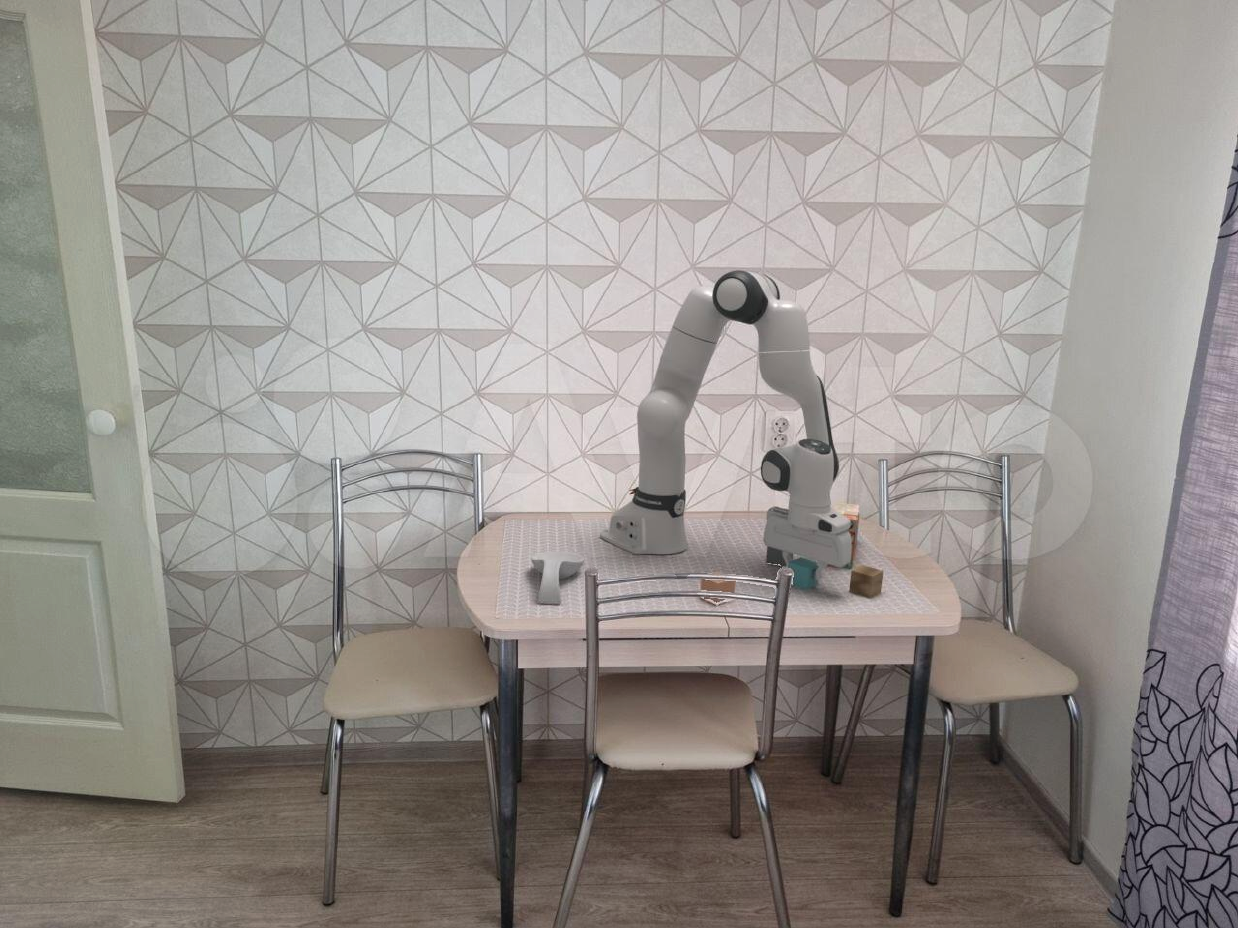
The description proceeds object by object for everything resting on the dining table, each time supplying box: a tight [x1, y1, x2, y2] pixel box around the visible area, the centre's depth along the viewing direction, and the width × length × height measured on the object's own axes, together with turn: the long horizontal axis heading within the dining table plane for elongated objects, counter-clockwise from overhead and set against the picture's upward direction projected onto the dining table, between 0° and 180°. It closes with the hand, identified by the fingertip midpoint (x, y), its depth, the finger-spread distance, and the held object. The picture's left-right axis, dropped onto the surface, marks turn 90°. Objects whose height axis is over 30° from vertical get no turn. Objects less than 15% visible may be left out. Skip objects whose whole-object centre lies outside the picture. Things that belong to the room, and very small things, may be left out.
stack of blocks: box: [826, 501, 861, 570], centre depth 218 cm, size 21×6×12 cm, turn 163°
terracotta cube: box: [700, 571, 736, 603], centre depth 188 cm, size 5×5×5 cm
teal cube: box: [788, 556, 820, 591], centre depth 198 cm, size 5×5×5 cm
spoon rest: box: [530, 551, 585, 605], centre depth 193 cm, size 24×12×7 cm, turn 179°
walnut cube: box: [848, 564, 884, 599], centre depth 194 cm, size 5×5×5 cm
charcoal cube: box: [765, 546, 794, 568], centre depth 211 cm, size 5×5×5 cm
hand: (803, 574), depth 198 cm, fingers closed on teal cube, 5 cm apart
